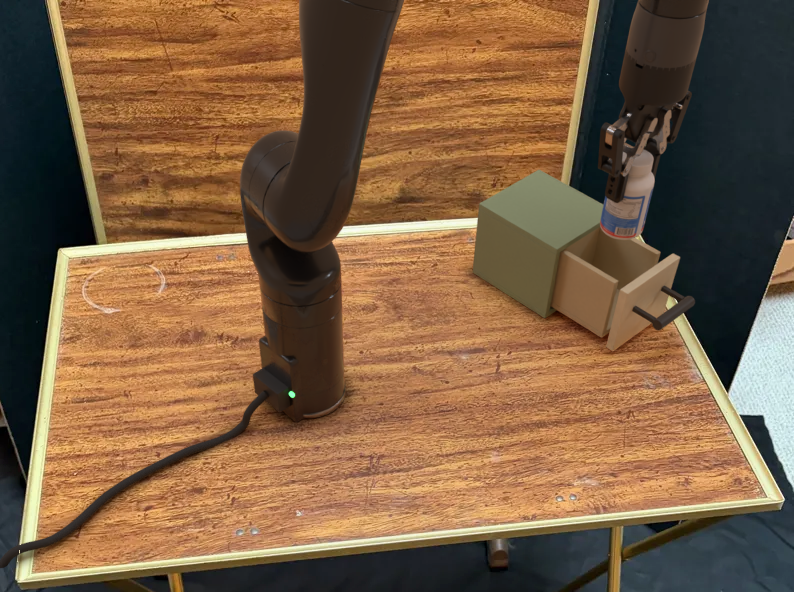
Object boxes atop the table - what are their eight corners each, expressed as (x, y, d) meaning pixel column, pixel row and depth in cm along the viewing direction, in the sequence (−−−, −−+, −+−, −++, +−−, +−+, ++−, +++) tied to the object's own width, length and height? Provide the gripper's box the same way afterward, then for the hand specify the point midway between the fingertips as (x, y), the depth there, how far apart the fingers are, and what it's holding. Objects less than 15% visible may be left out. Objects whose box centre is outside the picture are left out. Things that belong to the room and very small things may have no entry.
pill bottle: (617, 210, 124) (633, 138, 116) (651, 229, 121) (670, 157, 114) (589, 227, 121) (604, 155, 114) (623, 247, 119) (641, 174, 111)
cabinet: (601, 280, 137) (616, 211, 128) (544, 318, 132) (557, 249, 123) (528, 237, 143) (539, 169, 134) (472, 272, 138) (479, 203, 129)
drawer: (692, 332, 129) (711, 274, 122) (642, 370, 125) (659, 312, 117) (591, 272, 137) (603, 214, 129) (540, 306, 132) (550, 248, 125)
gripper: (673, 14, 108) (640, 155, 122) (592, 56, 102) (566, 199, 116) (730, 38, 105) (689, 180, 119) (649, 83, 99) (616, 227, 112)
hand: (629, 189), depth 117 cm, fingers closed on pill bottle, 5 cm apart
